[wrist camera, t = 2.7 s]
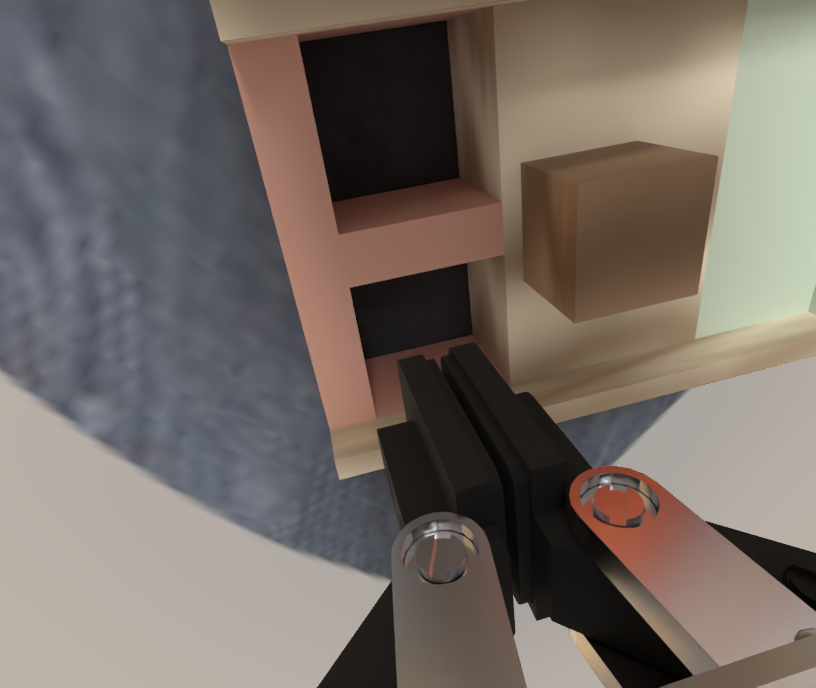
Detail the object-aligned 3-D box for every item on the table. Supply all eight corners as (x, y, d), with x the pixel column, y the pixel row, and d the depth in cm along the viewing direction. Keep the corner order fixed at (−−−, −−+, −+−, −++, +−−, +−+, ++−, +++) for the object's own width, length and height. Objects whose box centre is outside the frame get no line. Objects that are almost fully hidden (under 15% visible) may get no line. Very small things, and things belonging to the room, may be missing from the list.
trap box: (230, 19, 18) (196, -19, 11) (810, -63, 22) (1110, -139, 14) (325, 386, 26) (345, 518, 19) (740, 288, 29) (908, 365, 22)
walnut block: (520, 162, 18) (577, 184, 15) (637, 140, 19) (718, 156, 15) (523, 281, 20) (574, 323, 17) (628, 258, 21) (697, 294, 17)
